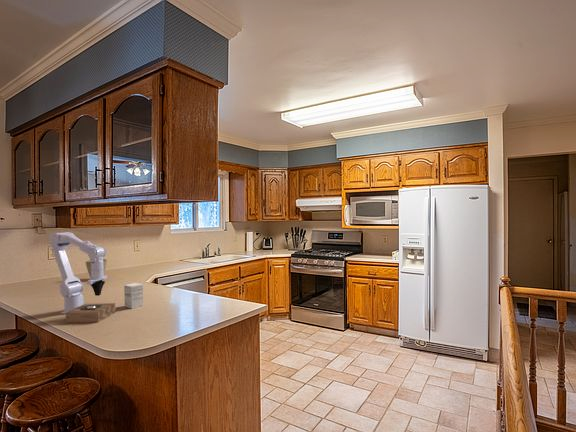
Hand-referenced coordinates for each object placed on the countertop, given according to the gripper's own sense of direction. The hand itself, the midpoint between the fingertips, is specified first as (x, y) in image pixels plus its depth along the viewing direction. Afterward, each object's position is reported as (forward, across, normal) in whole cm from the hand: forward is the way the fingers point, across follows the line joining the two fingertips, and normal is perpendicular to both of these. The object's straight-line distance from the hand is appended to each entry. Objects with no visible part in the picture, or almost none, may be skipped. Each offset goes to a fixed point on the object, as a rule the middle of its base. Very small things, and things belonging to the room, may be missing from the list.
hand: (97, 295), depth 176 cm
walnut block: (+10, -6, 0) cm, 11 cm away
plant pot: (+10, +92, +56) cm, 108 cm away
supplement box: (+10, +13, -13) cm, 21 cm away
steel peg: (+10, -6, 0) cm, 12 cm away
